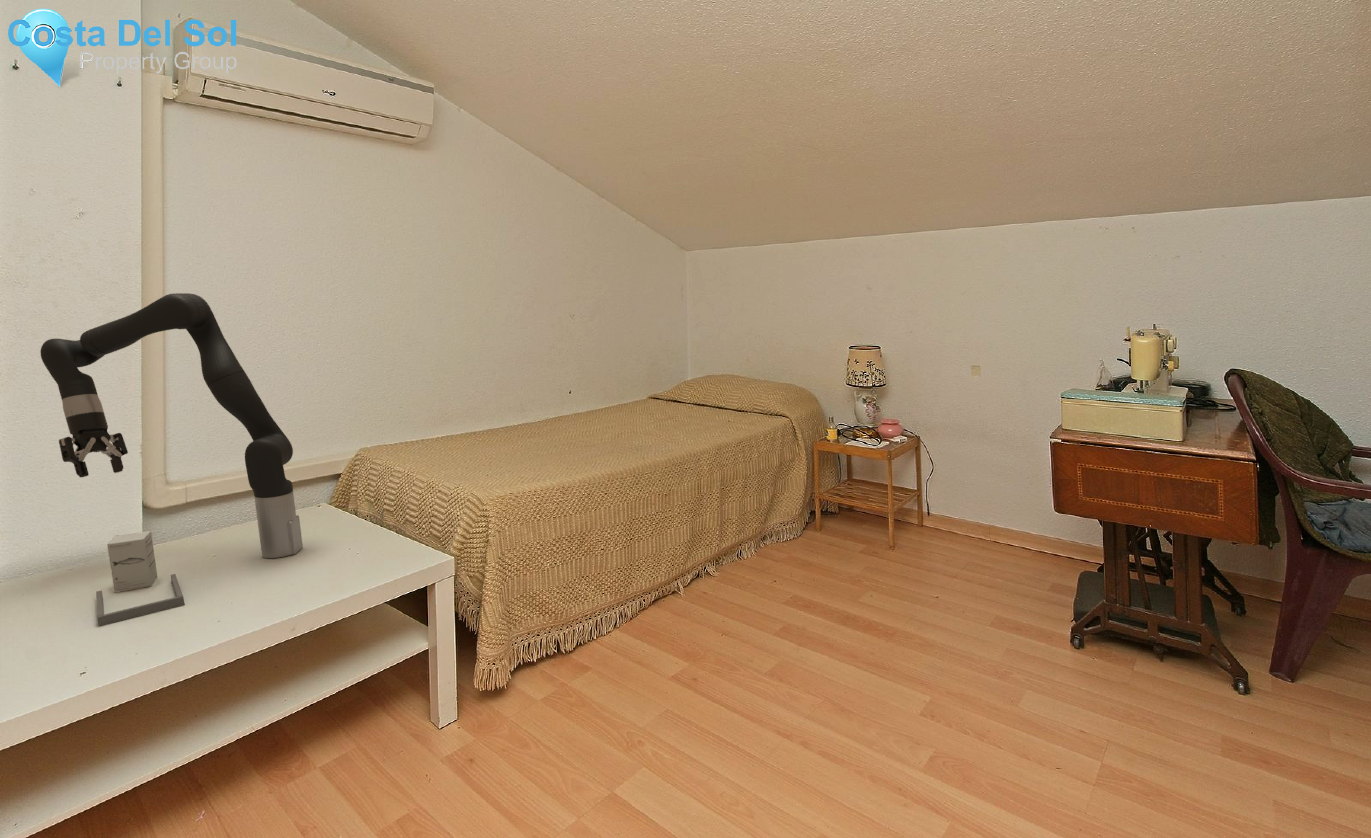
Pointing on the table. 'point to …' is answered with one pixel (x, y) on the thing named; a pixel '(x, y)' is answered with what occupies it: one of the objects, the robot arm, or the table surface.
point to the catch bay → (138, 610)
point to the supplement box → (132, 561)
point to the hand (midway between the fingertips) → (101, 474)
